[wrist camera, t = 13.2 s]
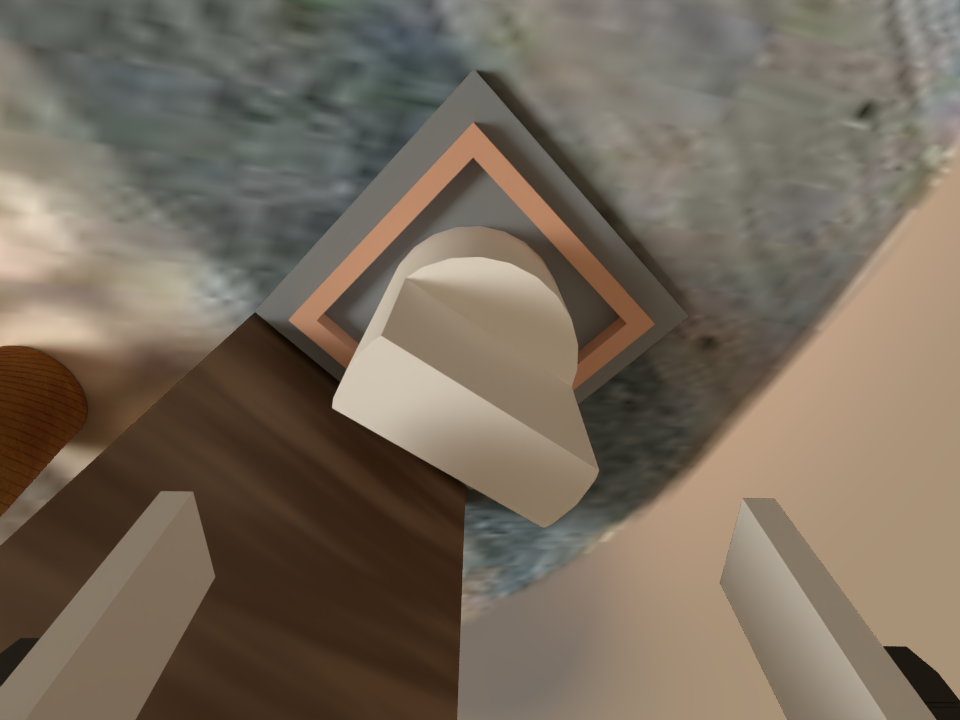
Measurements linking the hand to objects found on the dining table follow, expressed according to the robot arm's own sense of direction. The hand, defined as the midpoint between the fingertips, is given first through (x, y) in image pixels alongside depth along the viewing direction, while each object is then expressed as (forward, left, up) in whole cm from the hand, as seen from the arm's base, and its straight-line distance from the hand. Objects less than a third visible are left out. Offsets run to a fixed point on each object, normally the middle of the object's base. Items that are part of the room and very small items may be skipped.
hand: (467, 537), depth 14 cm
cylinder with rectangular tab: (0, 0, -17) cm, 17 cm away
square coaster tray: (0, 0, -18) cm, 18 cm away
